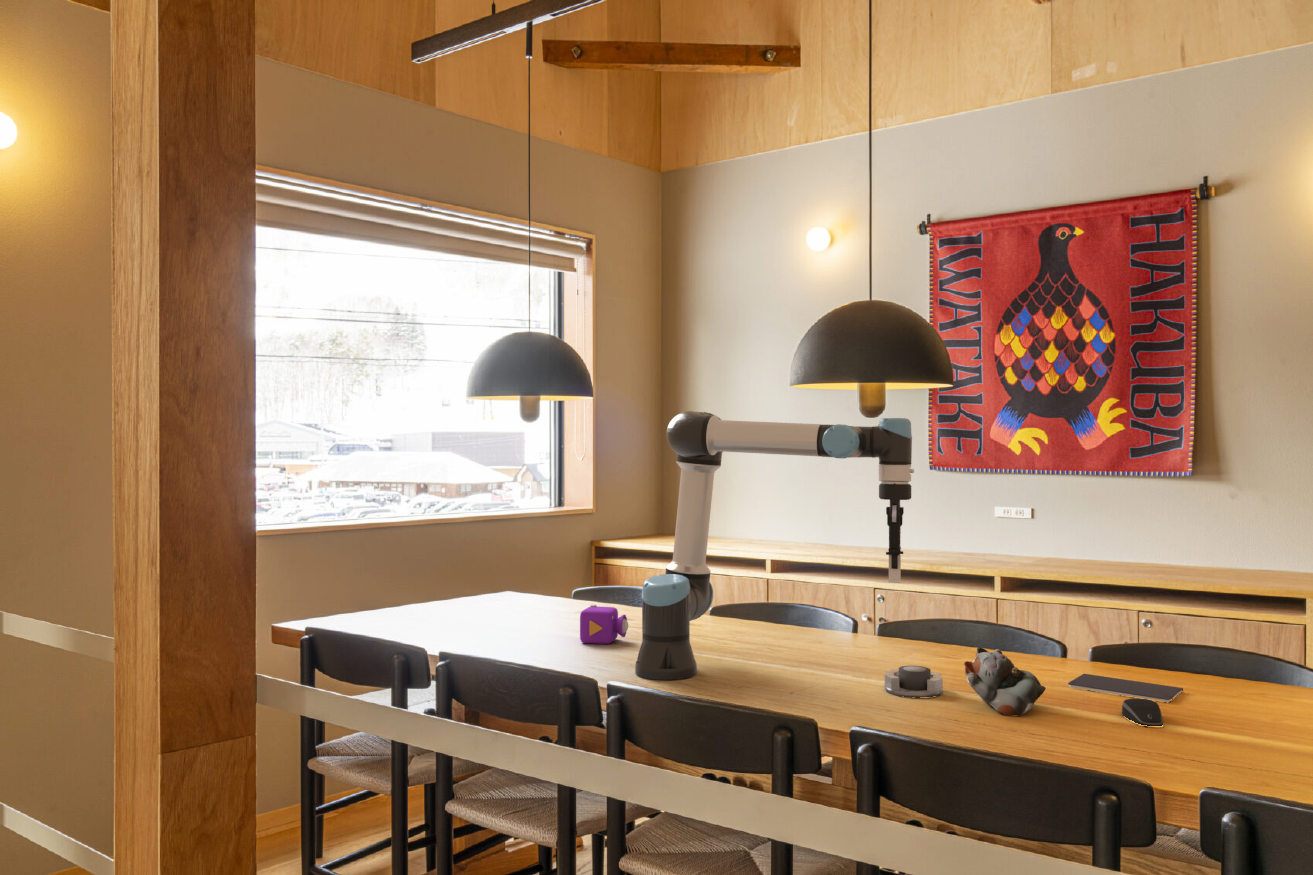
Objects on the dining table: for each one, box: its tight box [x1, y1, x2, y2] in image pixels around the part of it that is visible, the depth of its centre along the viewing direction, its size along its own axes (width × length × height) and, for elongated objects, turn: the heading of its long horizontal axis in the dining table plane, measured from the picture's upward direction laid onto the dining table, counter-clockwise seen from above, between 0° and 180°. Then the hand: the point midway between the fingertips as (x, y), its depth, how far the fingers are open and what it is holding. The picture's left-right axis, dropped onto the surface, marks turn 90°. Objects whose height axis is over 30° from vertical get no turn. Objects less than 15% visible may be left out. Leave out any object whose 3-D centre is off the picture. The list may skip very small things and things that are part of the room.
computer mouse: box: [1121, 698, 1164, 726], centre depth 192 cm, size 7×12×4 cm, turn 168°
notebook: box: [1067, 673, 1184, 702], centre depth 215 cm, size 13×2×21 cm
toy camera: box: [579, 604, 629, 645], centre depth 271 cm, size 11×14×10 cm
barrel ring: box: [884, 669, 943, 699], centre depth 215 cm, size 13×13×4 cm
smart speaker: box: [898, 665, 931, 691], centre depth 214 cm, size 7×7×4 cm
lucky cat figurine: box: [963, 647, 1046, 716], centre depth 201 cm, size 15×12×14 cm
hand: (894, 581), depth 225 cm, fingers closed
